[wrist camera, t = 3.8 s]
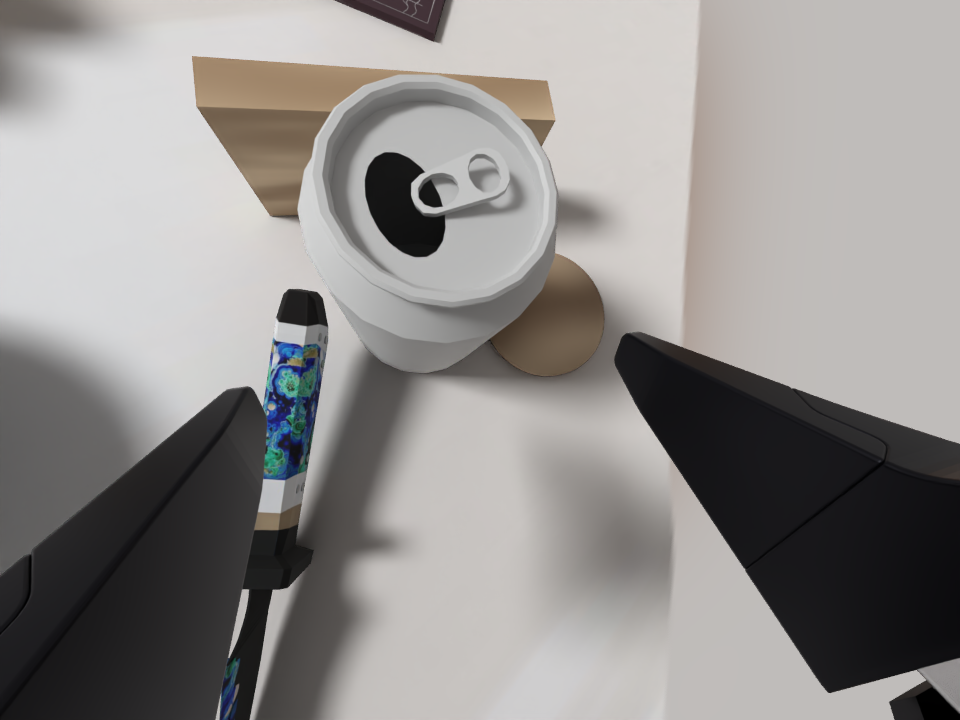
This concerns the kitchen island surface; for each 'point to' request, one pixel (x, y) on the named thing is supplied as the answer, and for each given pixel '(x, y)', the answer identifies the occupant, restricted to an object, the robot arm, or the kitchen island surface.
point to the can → (428, 217)
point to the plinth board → (311, 114)
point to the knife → (279, 483)
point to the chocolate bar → (404, 13)
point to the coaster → (555, 324)
